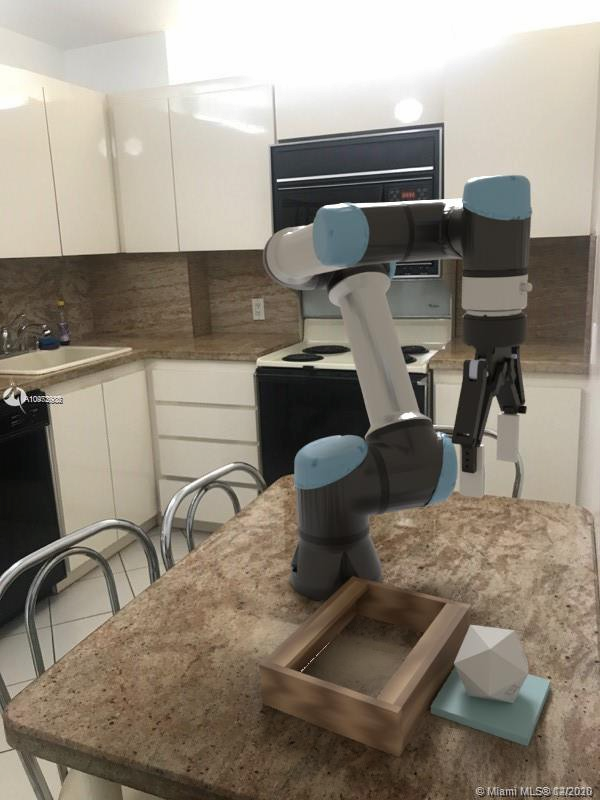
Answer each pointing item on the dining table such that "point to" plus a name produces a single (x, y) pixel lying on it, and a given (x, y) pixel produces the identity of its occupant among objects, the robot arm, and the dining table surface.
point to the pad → (494, 708)
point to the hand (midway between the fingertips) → (490, 477)
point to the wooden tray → (407, 689)
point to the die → (492, 663)
